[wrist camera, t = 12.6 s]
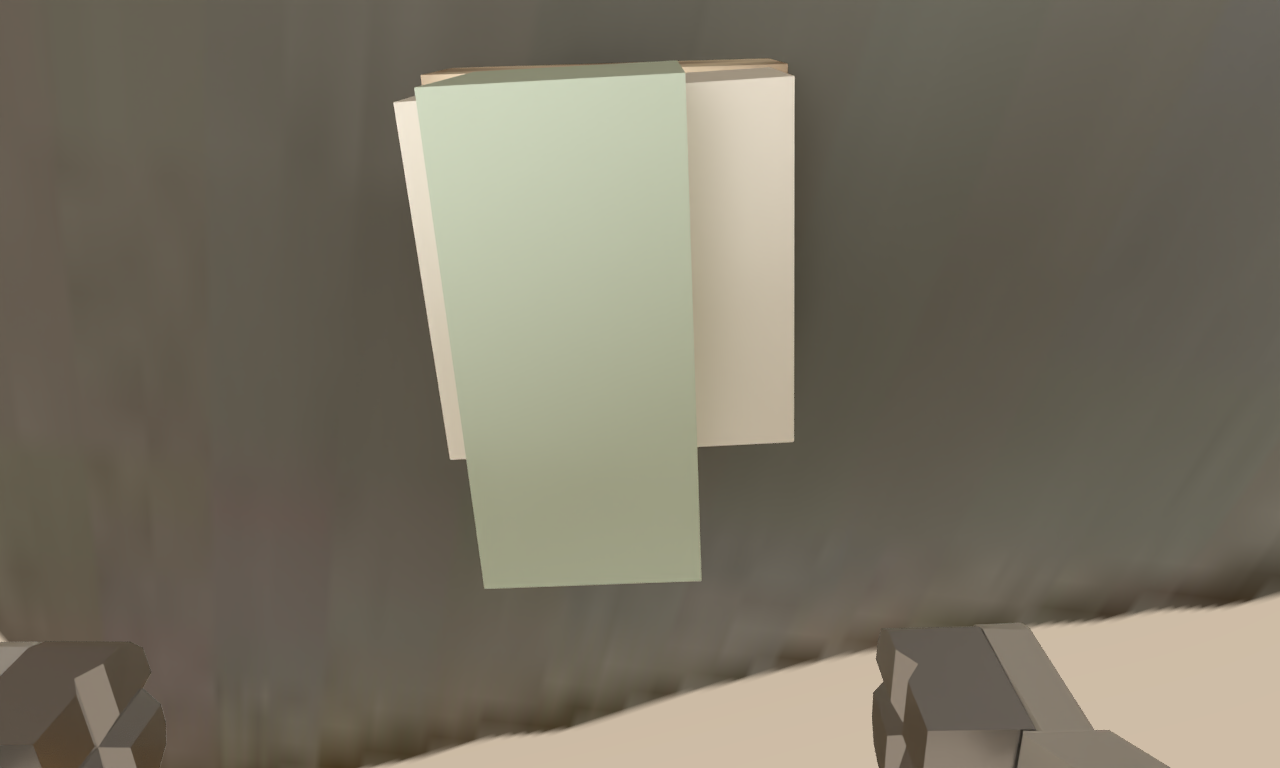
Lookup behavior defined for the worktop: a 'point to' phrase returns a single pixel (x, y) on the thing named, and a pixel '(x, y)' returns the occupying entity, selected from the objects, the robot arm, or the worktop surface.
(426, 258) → the tower top
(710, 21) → the worktop surface
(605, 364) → the green bar
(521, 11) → the worktop surface
